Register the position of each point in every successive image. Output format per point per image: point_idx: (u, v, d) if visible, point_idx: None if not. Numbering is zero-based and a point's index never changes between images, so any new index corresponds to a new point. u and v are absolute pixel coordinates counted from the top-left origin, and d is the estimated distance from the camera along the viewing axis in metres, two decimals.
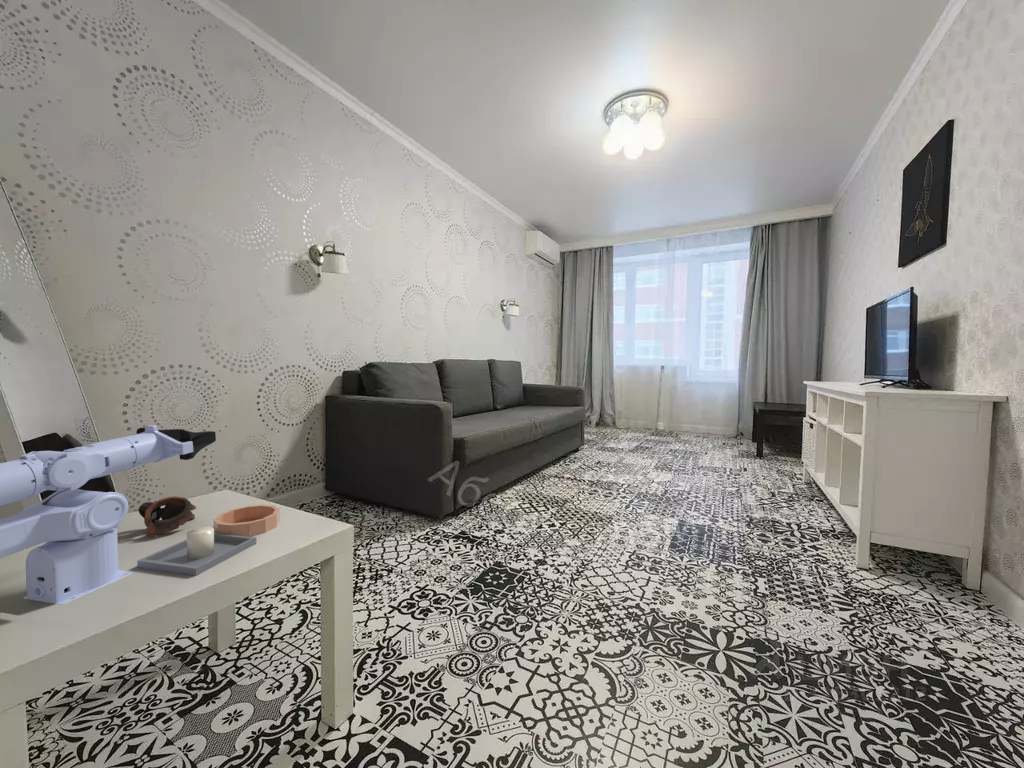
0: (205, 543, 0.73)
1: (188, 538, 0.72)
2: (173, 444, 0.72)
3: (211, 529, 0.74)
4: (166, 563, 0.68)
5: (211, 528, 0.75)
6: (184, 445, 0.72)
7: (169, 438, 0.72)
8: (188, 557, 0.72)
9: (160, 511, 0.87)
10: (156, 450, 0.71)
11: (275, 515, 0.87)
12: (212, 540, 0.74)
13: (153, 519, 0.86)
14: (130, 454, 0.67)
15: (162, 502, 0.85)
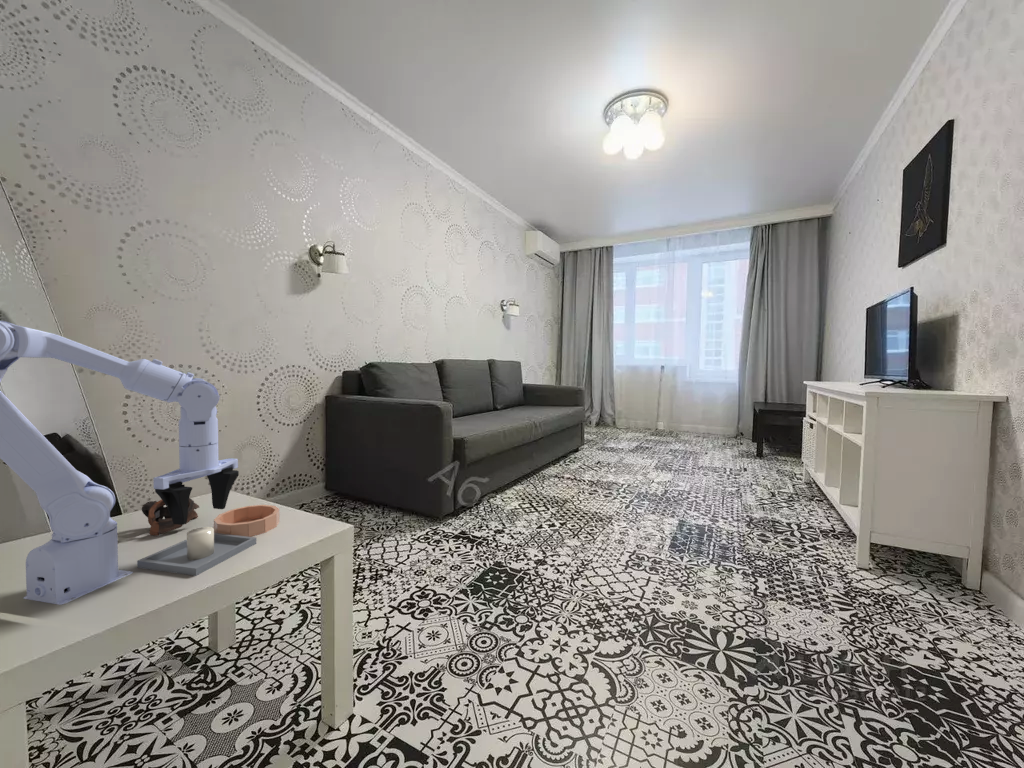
0: (205, 543, 0.73)
1: (188, 538, 0.72)
2: None
3: (211, 529, 0.74)
4: (166, 563, 0.68)
5: (211, 528, 0.75)
6: (161, 480, 0.66)
7: (185, 475, 0.69)
8: (188, 557, 0.72)
9: (163, 510, 0.87)
10: (183, 464, 0.70)
11: (275, 515, 0.87)
12: (212, 540, 0.74)
13: (156, 518, 0.86)
14: (201, 441, 0.71)
15: None
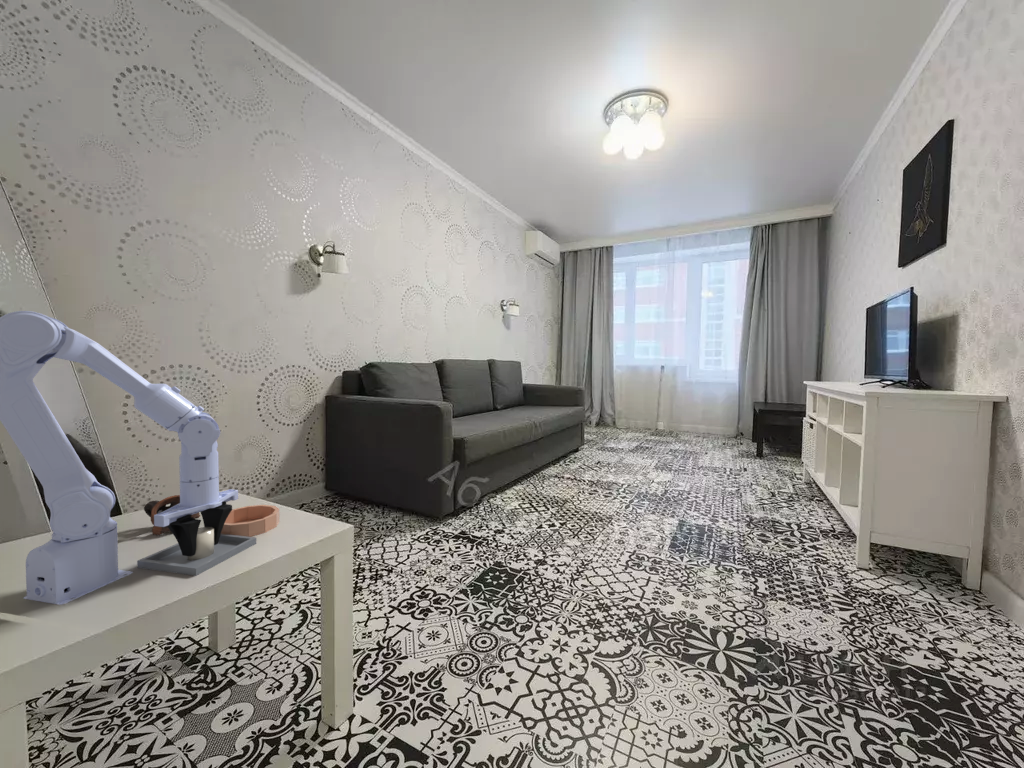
0: (205, 543, 0.73)
1: None
2: None
3: (211, 529, 0.74)
4: (166, 563, 0.68)
5: (211, 528, 0.75)
6: (161, 517, 0.66)
7: (186, 511, 0.69)
8: (188, 557, 0.72)
9: (165, 509, 0.88)
10: (184, 500, 0.70)
11: (275, 515, 0.87)
12: (212, 540, 0.74)
13: None
14: (202, 476, 0.71)
15: (168, 500, 0.86)
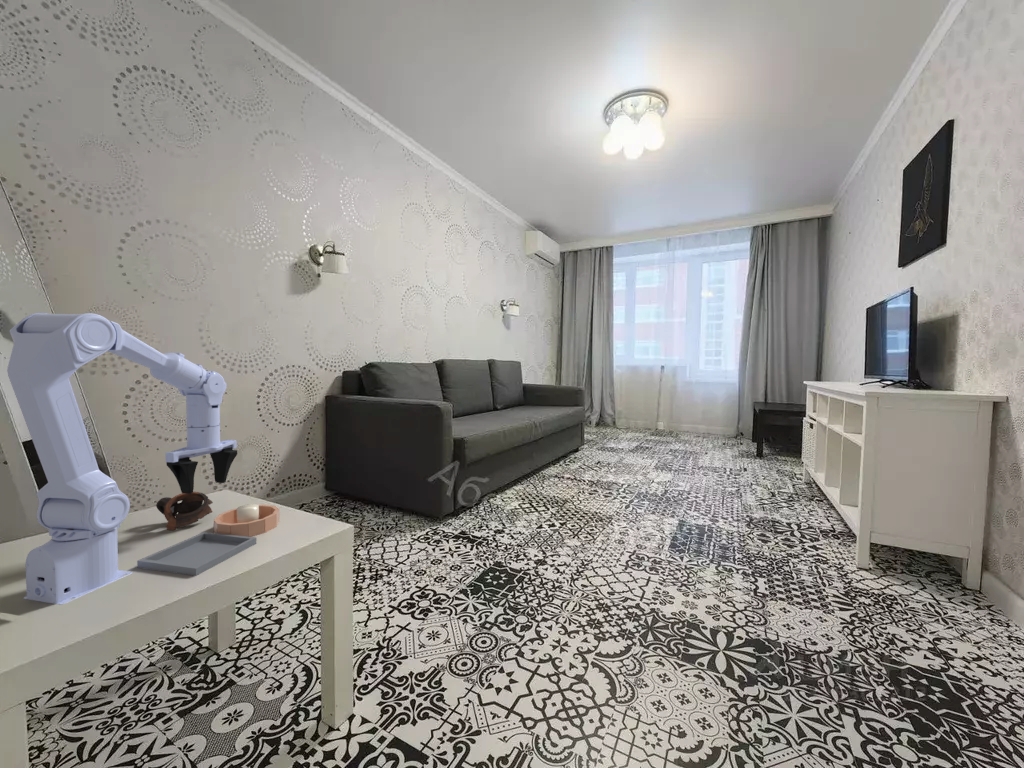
0: (252, 517, 0.85)
1: (238, 512, 0.84)
2: None
3: (257, 505, 0.87)
4: (166, 563, 0.68)
5: (256, 505, 0.87)
6: (171, 454, 0.78)
7: (192, 451, 0.81)
8: None
9: (177, 506, 0.90)
10: (190, 442, 0.82)
11: (275, 515, 0.87)
12: (257, 515, 0.87)
13: None
14: (216, 422, 0.85)
15: (180, 497, 0.88)
